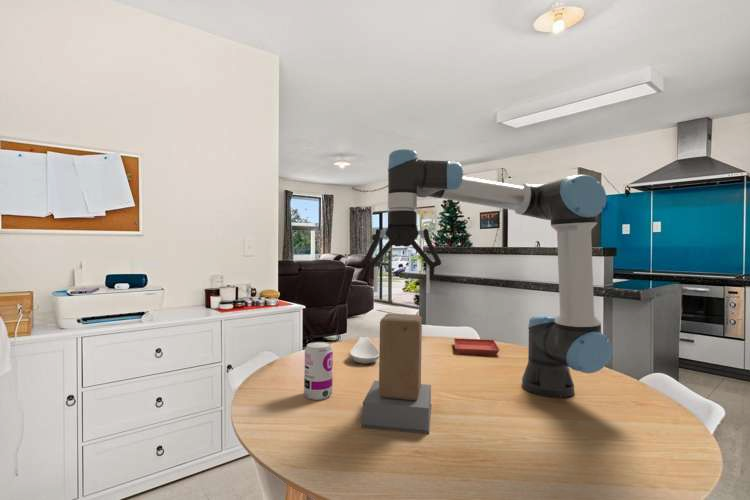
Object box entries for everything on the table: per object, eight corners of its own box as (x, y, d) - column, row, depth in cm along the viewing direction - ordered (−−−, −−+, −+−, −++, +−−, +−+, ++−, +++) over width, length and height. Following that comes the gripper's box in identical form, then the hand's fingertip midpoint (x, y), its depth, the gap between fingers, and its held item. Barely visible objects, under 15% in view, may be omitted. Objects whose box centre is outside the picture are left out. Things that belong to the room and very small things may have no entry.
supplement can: (337, 393, 116) (337, 343, 116) (322, 402, 109) (323, 349, 109) (314, 388, 120) (315, 340, 120) (298, 397, 112) (299, 346, 112)
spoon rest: (381, 366, 144) (381, 347, 144) (349, 367, 143) (350, 347, 143) (376, 350, 167) (376, 333, 167) (348, 350, 166) (349, 333, 166)
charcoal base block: (431, 406, 108) (431, 384, 108) (429, 433, 91) (429, 408, 91) (373, 401, 110) (373, 380, 110) (361, 427, 94) (361, 402, 94)
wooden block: (417, 402, 95) (419, 321, 95) (378, 398, 97) (379, 319, 97) (421, 388, 105) (422, 314, 105) (384, 384, 107) (385, 312, 107)
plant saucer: (455, 355, 161) (455, 347, 161) (453, 344, 179) (453, 337, 179) (500, 358, 158) (500, 350, 158) (493, 347, 176) (493, 339, 176)
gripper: (450, 211, 102) (450, 291, 102) (358, 212, 107) (358, 289, 107) (451, 208, 95) (450, 295, 95) (352, 209, 99) (351, 292, 99)
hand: (401, 292), depth 101 cm, fingers open, 13 cm apart
